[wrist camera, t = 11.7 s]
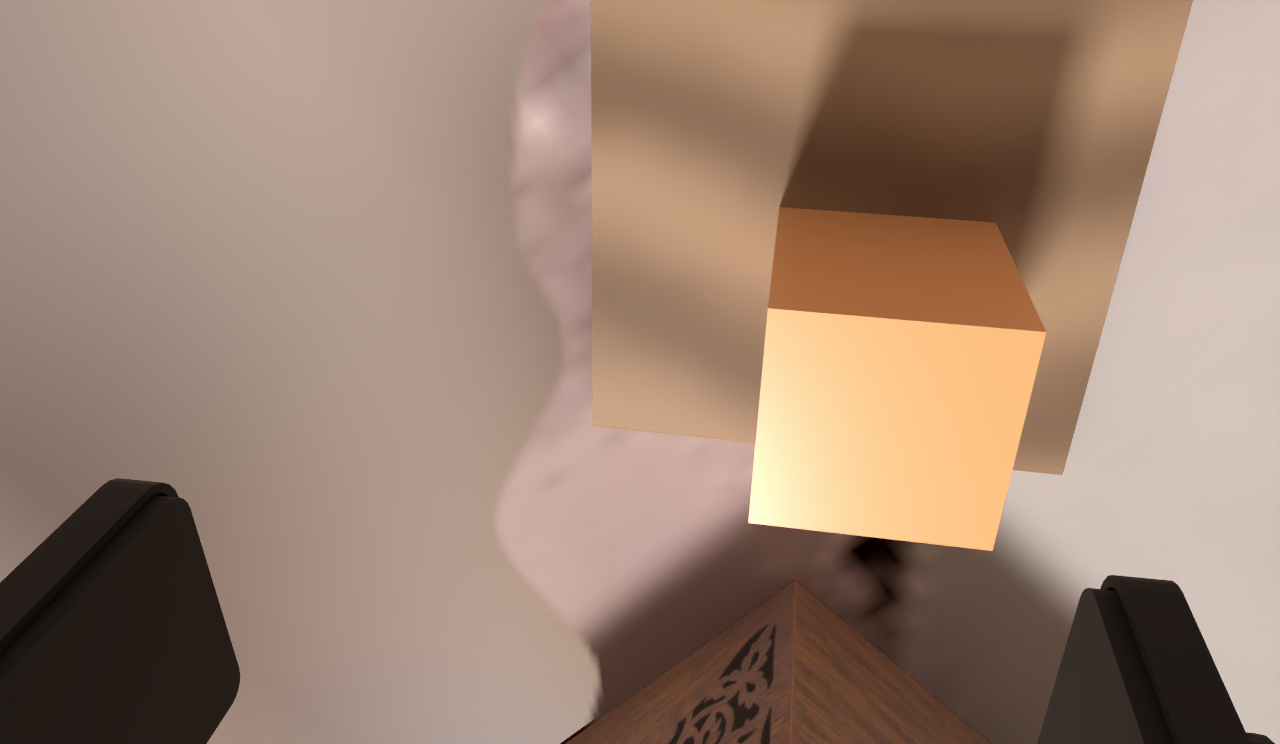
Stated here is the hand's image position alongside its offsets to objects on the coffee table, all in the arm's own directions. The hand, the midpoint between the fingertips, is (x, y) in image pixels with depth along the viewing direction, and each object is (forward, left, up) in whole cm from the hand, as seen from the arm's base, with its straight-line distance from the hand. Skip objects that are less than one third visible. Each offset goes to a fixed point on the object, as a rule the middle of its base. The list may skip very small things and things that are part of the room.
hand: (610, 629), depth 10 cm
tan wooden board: (0, +3, -21) cm, 21 cm away
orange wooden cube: (+5, +4, -20) cm, 21 cm away
